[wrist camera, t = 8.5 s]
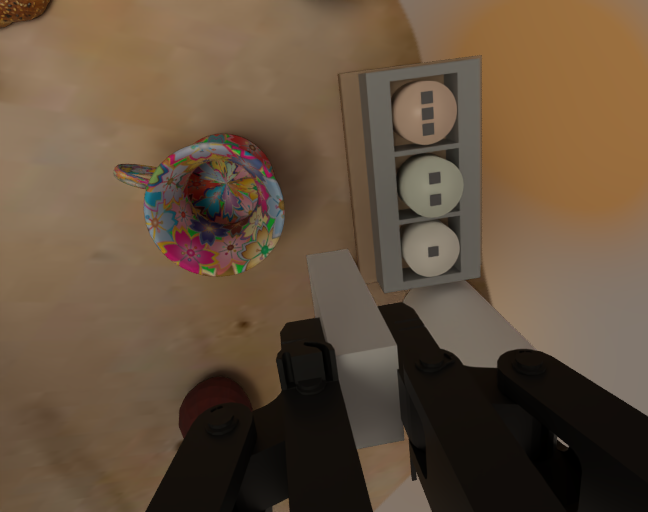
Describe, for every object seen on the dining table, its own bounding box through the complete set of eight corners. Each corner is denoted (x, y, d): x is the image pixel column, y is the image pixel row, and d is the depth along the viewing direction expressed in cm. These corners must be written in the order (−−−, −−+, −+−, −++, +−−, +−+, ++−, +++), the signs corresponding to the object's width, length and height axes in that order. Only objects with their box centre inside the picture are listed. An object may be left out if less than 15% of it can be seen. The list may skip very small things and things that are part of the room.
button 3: (389, 143, 40) (399, 148, 37) (385, 84, 39) (395, 85, 36) (443, 136, 41) (458, 140, 38) (441, 77, 39) (457, 76, 36)
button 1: (398, 267, 45) (408, 281, 41) (394, 219, 43) (405, 229, 40) (447, 259, 45) (460, 272, 42) (445, 211, 43) (459, 221, 40)
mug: (294, 150, 41) (304, 171, 31) (260, 245, 44) (259, 292, 34) (156, 99, 38) (118, 105, 28) (129, 204, 41) (86, 242, 31)
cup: (384, 323, 48) (438, 431, 33) (433, 259, 46) (513, 343, 32) (444, 357, 51) (520, 472, 36) (492, 297, 49) (594, 392, 34)
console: (359, 279, 46) (368, 297, 42) (337, 74, 39) (345, 73, 35) (476, 260, 47) (496, 276, 43) (475, 56, 40) (498, 53, 36)
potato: (186, 433, 50) (176, 477, 44) (179, 367, 47) (168, 405, 42) (256, 429, 51) (255, 471, 45) (253, 363, 48) (252, 400, 42)
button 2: (397, 211, 41) (408, 222, 38) (393, 157, 40) (404, 163, 37) (449, 203, 42) (464, 213, 39) (448, 149, 40) (463, 155, 37)
